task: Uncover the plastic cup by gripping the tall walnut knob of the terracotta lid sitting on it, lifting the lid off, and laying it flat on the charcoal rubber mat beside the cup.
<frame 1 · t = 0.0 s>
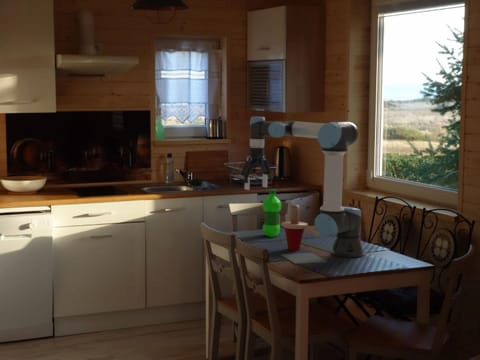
hand: (256, 188, 398), 28 cm above the table, tool pointing down, fingers open, 13 cm apart
lid: (294, 225, 384), point 12 cm above the table, touching plastic cup
plastic bottle: (271, 236, 417), on the table
mat: (303, 258, 366), on the table
plastic cup: (293, 249, 385), on the table, touching lid
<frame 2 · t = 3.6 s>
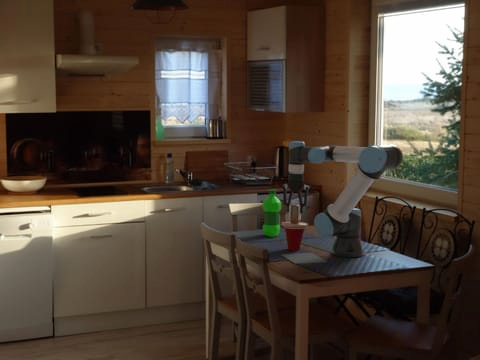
hand: (294, 219, 383), 15 cm above the table, tool pointing down, fingers closed on lid, 4 cm apart
lid: (294, 225, 384), point 12 cm above the table, touching gripper, plastic cup
everything else where it was.
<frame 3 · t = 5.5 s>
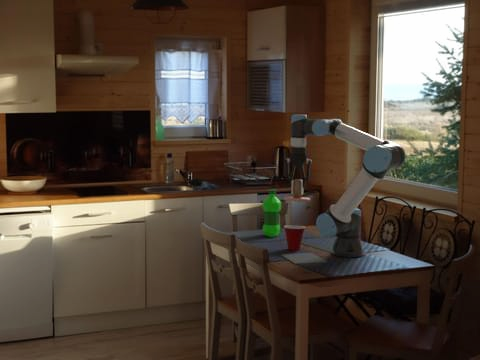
hand: (297, 193, 378), 28 cm above the table, tool pointing down, fingers closed on lid, 4 cm apart
lid: (297, 200, 379), point 25 cm above the table, tilted 5°, touching gripper
plastic cup: (293, 249, 385), on the table
everything else where it was.
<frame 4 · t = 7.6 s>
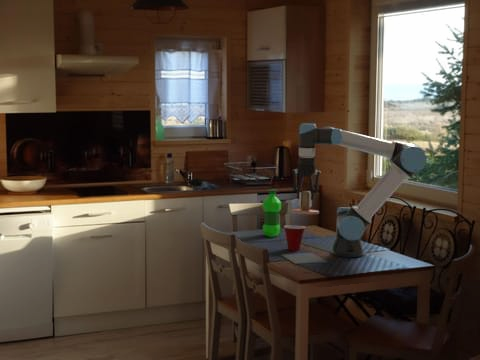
hand: (305, 206, 362), 25 cm above the table, tool pointing down, fingers closed on lid, 4 cm apart
lid: (305, 212, 363), point 22 cm above the table, touching gripper
everything else where it was.
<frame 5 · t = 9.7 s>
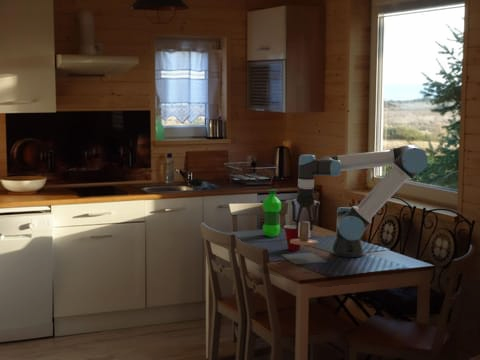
hand: (304, 236, 364), 11 cm above the table, tool pointing down, fingers closed on lid, 4 cm apart
lid: (303, 243, 365), point 8 cm above the table, touching gripper
everything else where it was.
when the fingers open (6 cm above the table, at t = 11.6 s): lid drops 2 cm, resting on mat.
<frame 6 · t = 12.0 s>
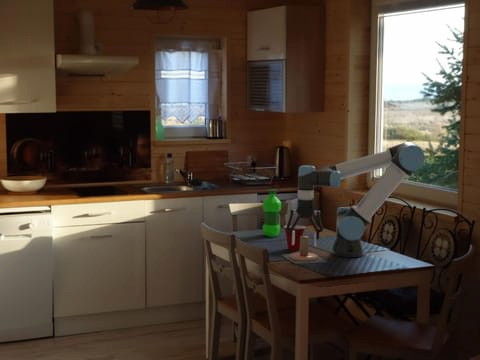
hand: (304, 245, 365), 7 cm above the table, tool pointing down, fingers open, 10 cm apart
lid: (303, 257, 366), resting on mat
everything else where it was.
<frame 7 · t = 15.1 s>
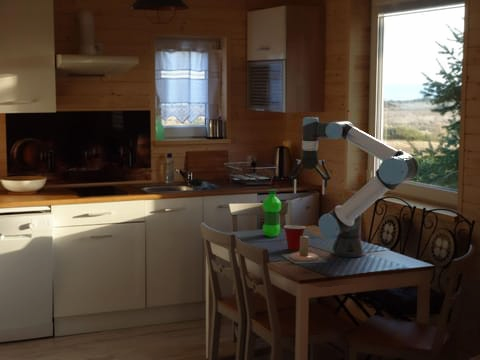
hand: (309, 193, 372), 30 cm above the table, tool pointing down, fingers open, 13 cm apart
nothing on the table moved.
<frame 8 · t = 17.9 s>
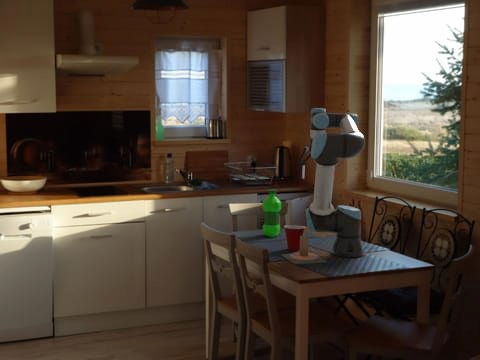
hand: (316, 179, 402), 33 cm above the table, tool pointing down, fingers open, 13 cm apart
nothing on the table moved.
at the end: lid inside the target area on the mat (0.1 cm from its centre), point 0.5 cm above the mat's base; lid tilted 0°; plastic cup moved 0.2 cm from its start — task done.
